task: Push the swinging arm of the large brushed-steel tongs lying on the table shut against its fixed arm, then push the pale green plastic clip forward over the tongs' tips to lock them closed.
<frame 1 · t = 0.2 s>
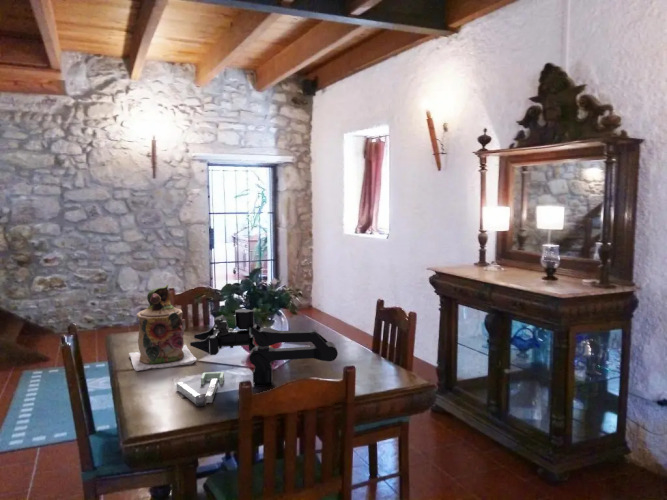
hand: (192, 340, 192), 17 cm above the table, fingers open, 9 cm apart
lock clip: (212, 378, 197), point 2 cm above the table, slide at 0.0 cm
tongs fixed arm: (211, 394, 185), on the table
tong arm: (190, 393, 182), point 2 cm above the table, hinge at 32.0°
mushroom: (265, 360, 224), on the table
cookie jar: (162, 360, 224), on the table
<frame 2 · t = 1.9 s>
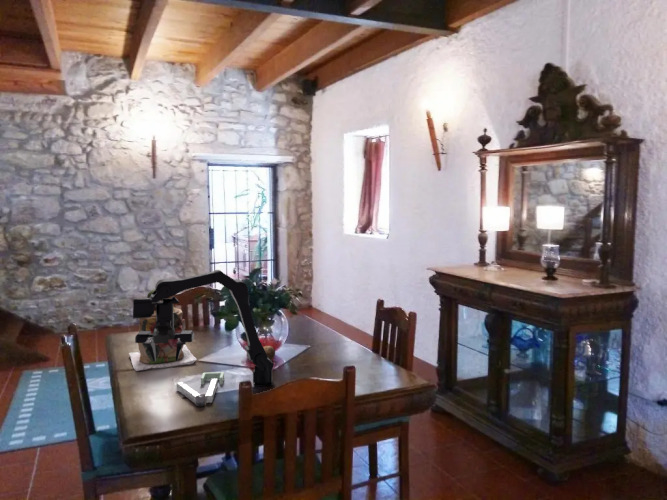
hand: (165, 361, 183), 12 cm above the table, fingers open, 7 cm apart
nothing on the table moved.
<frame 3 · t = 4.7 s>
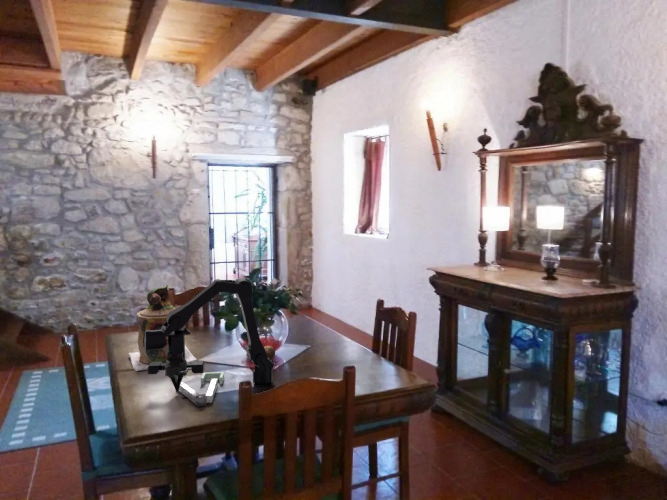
hand: (177, 391, 185), 1 cm above the table, fingers closed
tong arm: (190, 393, 182), point 2 cm above the table, hinge at 31.8°, touching gripper
everything else where it was.
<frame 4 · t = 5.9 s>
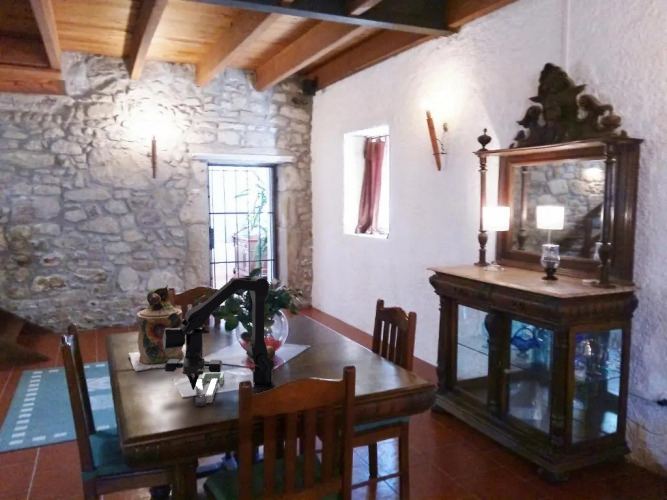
hand: (193, 389, 186), 2 cm above the table, fingers closed
tong arm: (199, 391, 183), point 2 cm above the table, hinge at 10.1°, touching gripper
everything else where it was.
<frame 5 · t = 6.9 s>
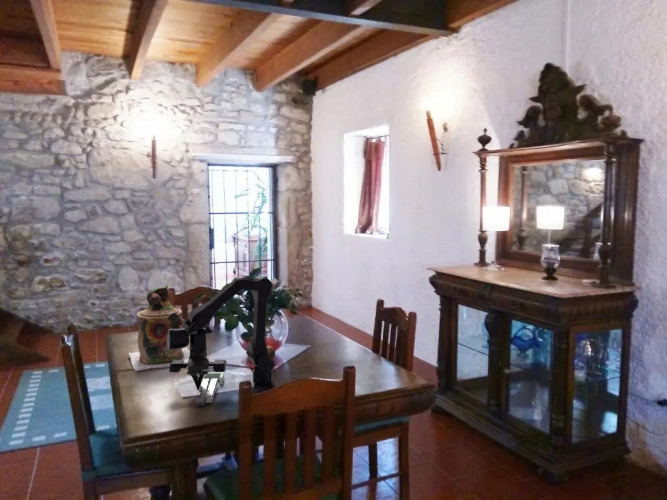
hand: (198, 389, 186), 2 cm above the table, fingers closed
tong arm: (203, 391, 183), point 2 cm above the table, hinge at 1.8°, touching gripper
everything else where it was.
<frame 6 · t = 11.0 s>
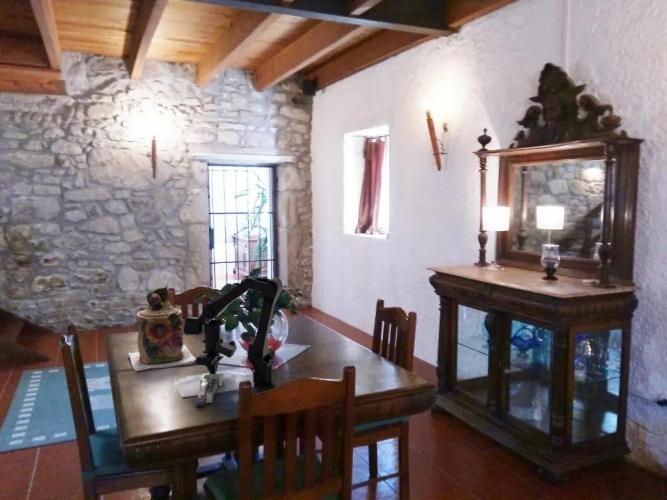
hand: (213, 376, 200), 1 cm above the table, fingers closed
lock clip: (212, 379, 195), point 2 cm above the table, slide at 1.7 cm, touching gripper
tong arm: (203, 391, 183), point 2 cm above the table, hinge at 1.5°
everything else where it was.
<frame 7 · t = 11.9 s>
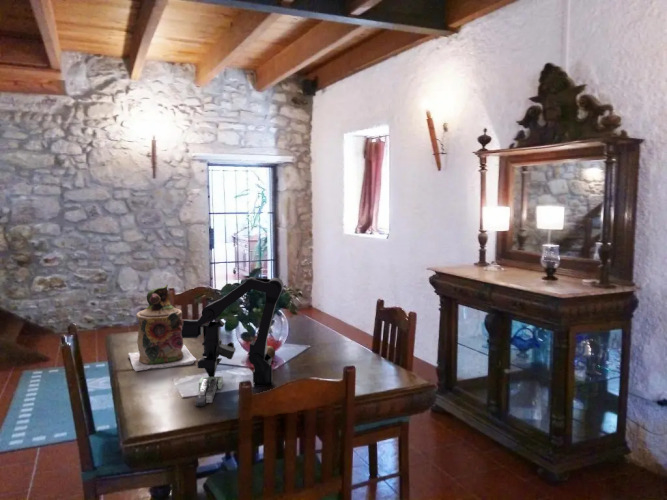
hand: (212, 379, 196), 1 cm above the table, fingers closed
lock clip: (211, 382, 192), point 2 cm above the table, slide at 4.8 cm, touching gripper
everything else where it was.
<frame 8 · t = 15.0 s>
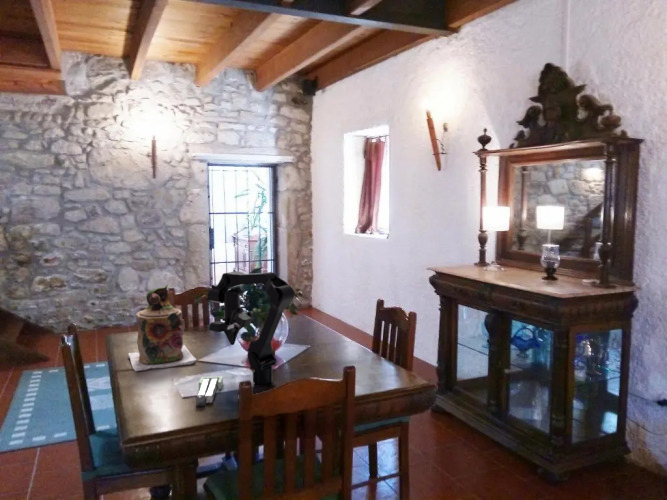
hand: (232, 344, 204), 12 cm above the table, fingers closed
lock clip: (211, 382, 192), point 2 cm above the table, slide at 4.8 cm
everything else where it was.
at the end: tong arm at +2° (first picture: +32°); lock clip slide at 4.8 cm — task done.
